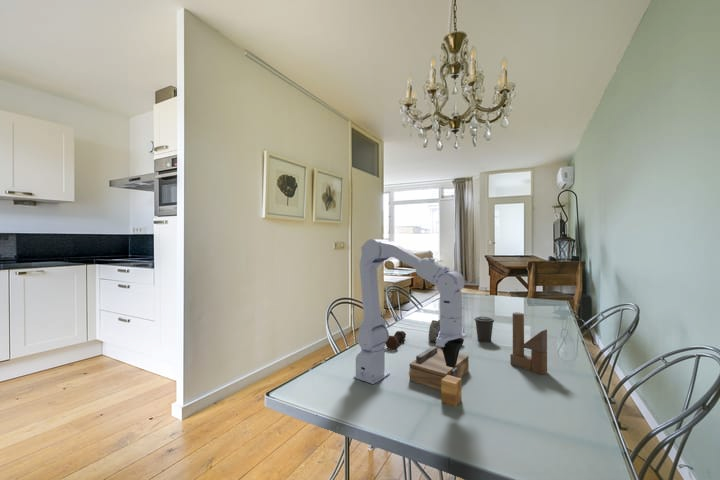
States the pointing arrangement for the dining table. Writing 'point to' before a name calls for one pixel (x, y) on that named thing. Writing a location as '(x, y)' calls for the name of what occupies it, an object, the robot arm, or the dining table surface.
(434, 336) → the mineral rock
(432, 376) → the brown wooden open box
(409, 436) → the dining table surface
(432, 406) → the dining table surface
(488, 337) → the coffee cup
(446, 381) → the brown block
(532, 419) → the dining table surface
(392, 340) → the bolt
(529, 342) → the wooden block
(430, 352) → the lid
